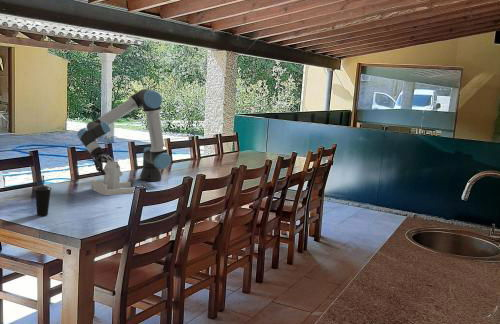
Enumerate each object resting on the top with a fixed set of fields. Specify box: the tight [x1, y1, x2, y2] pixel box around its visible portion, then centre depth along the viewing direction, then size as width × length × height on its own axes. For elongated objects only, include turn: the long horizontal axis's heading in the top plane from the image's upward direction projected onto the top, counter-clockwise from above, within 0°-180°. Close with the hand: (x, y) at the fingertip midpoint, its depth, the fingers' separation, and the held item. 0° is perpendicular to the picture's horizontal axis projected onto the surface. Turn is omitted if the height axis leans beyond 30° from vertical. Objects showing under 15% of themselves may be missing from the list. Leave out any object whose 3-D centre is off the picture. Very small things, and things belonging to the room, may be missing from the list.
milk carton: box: [103, 160, 121, 189], centre depth 310 cm, size 7×7×19 cm
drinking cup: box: [34, 175, 52, 217], centre depth 246 cm, size 8×8×20 cm
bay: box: [91, 178, 146, 196], centre depth 314 cm, size 28×18×6 cm
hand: (115, 177), depth 309 cm, fingers open, 13 cm apart
